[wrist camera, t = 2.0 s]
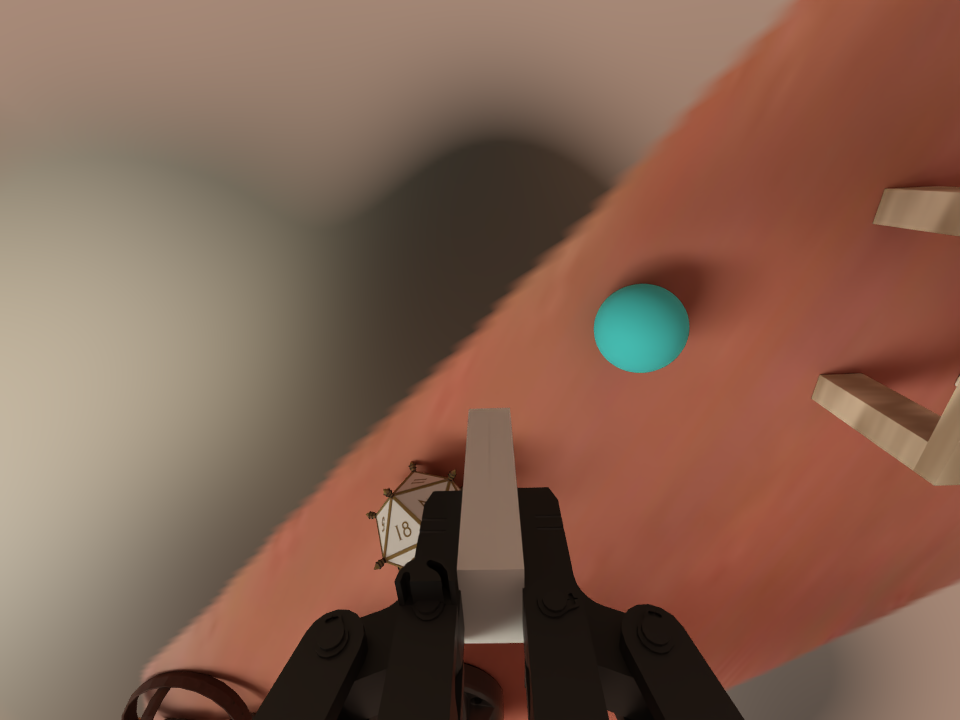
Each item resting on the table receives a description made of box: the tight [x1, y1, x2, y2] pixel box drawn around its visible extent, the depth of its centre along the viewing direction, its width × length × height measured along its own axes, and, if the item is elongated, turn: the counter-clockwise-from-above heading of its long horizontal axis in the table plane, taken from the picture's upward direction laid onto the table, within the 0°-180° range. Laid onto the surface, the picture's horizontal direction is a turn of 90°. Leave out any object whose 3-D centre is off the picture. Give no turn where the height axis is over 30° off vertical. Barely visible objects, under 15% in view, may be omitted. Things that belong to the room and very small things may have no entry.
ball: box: [594, 284, 689, 373], centre depth 25 cm, size 6×6×6 cm
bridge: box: [811, 186, 960, 486], centre depth 23 cm, size 3×14×9 cm, turn 3°
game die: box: [366, 462, 463, 571], centre depth 31 cm, size 9×8×10 cm
